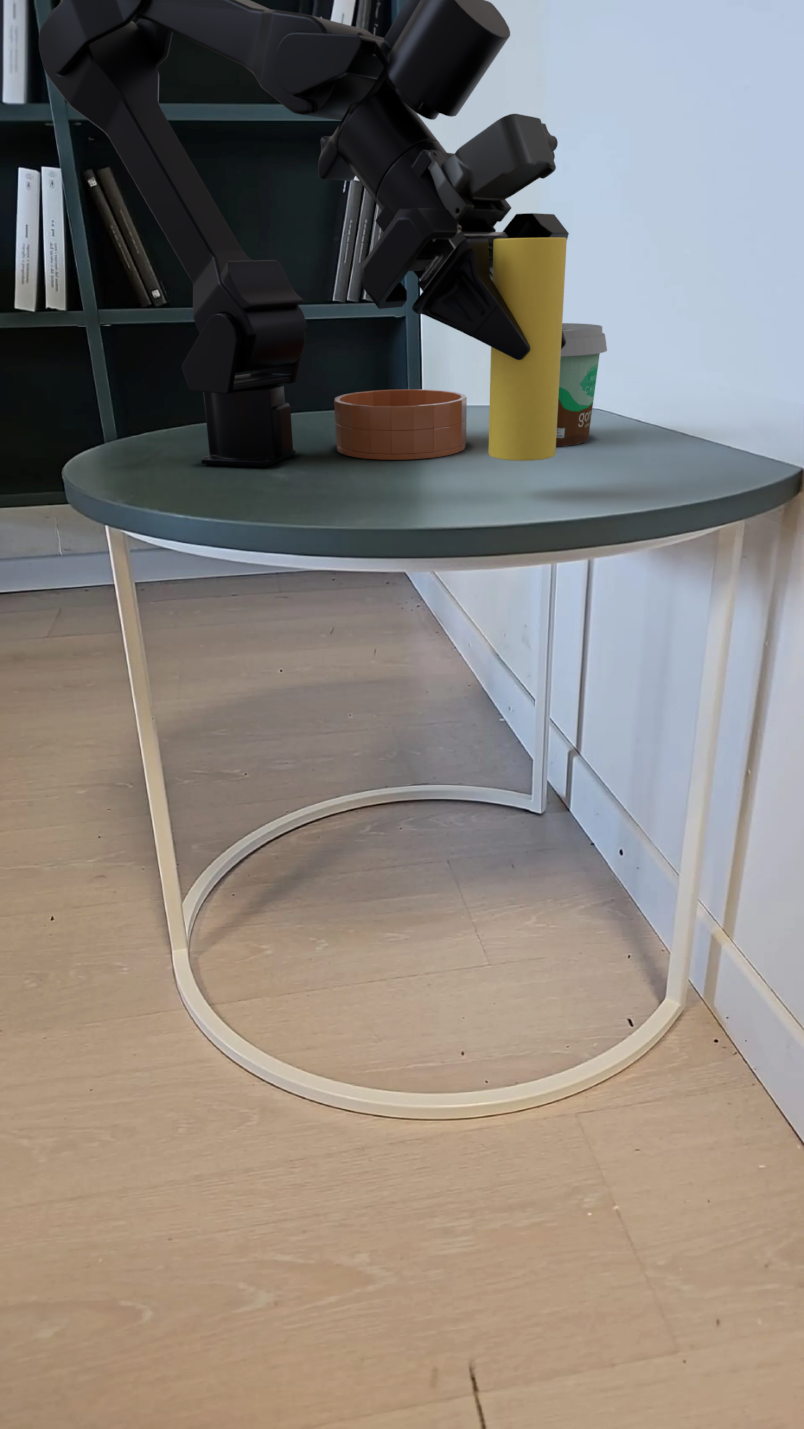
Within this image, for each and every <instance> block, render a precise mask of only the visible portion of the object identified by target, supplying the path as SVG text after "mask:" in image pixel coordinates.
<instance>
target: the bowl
mask: <svg viewBox="0 0 804 1429" xmlns="http://www.w3.org/2000/svg"><path fill="white" fill-rule="evenodd" d="M467 398H468V397H467V396H466V394H464V393H460V392H456V391H449V390H441V389H423V388H422V389H420V388H419V389H418V388H402V389H397V388H396V389H377V390H375V389H374V390H365V391H356V392H350V393H345V394H342V395H339V396H336V397H334V400H333V404H334V423H335V424H334V425H335V427H334V428H335V446H336V451H337V452H338V453H340V454H341V455H343V456H347V457H353V458H357V459H365V460H380V461H381V460H382V461H406V460H407V461H409V460H410V461H411V460H422V459H423V460H424V459H425V460H426V459H433V458H442V457H446V456H447V457H448V456H452V455H455V454H458V453H460V452H462V451H464V450H465V449H466V447H467V446H466V443H467V415H468V414H467V405H468V404H467V403H468V402H467Z"/></svg>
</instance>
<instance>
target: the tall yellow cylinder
mask: <svg viewBox="0 0 804 1429" xmlns="http://www.w3.org/2000/svg"><path fill="white" fill-rule="evenodd" d="M567 243H568V238H561V237H555V238H503V239H494V240H493V283H494V284H495V286H496V288H497V289H498V291H499V293H500V294H501V296H502V298H503V299H504V301H505V303H506V304H507V306H508V308H509V309H510V311H511V313H512V314H513V316H514V318H515V319H516V321H517V323H518V324H519V326H520V328H521V330H522V332H523V333H524V335H525V337H526V339H527V341H528V343H529V345H530V348H531V349H530V352H529V353H528V354H527V355H526V356H525V357H524V358H523V359H522V360H516V359H514V358H512V357H510V356H508V355H506V354H504V353H503V352H501V351H499V350H497V349H495V348H493V347H491V346H490V368H489V369H490V371H489V372H490V373H489V378H490V379H489V413H488V414H489V416H488V456H490V457H491V458H494V459H498V460H504V461H513V462H514V461H515V462H527V461H528V462H529V461H530V462H532V461H543V460H548V459H550V458H554V457H555V456H556V454H557V452H556V451H557V446H556V434H557V415H558V396H559V377H560V358H561V339H562V323H563V321H564V320H563V318H564V302H565V301H564V298H565V295H564V294H565V280H566V278H565V277H566V262H567V260H566V259H567Z"/></svg>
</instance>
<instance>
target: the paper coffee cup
mask: <svg viewBox="0 0 804 1429" xmlns="http://www.w3.org/2000/svg"><path fill="white" fill-rule="evenodd" d="M562 331H563V334H564V337H565V339H566V345H565V346H564V347H563V348H562V349H561V358H560V377H559V396H558V415H557V434H556V447H567V446H575V445H579V444H583V443H586V442H588V441H589V437H590V430H591V422H592V415H593V408H594V407H593V406H594V399H595V393H596V392H595V391H596V385H597V378H598V369H599V363H600V362H599V361H600V354H602V353H603V354H604V353H606V352H607V351H608V346H607V339H606V333H604V332H603V326H602V325H600V324H593V323H578V322H576V323H573V322H569V323H568V322H562Z"/></svg>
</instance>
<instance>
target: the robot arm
mask: <svg viewBox="0 0 804 1429" xmlns="http://www.w3.org/2000/svg"><path fill="white" fill-rule="evenodd" d="M135 18H136V19H138V20H137V21H136V22H134V21H133V20H134V19H135ZM173 33H175V34H177V35H179V36H181V37H183V38H185V39H187V40H189V41H191V42H193V43H195V44H198V45H199V46H200V47H201V46H202V47H203V48H206V49H208V50H209V51H212V52H214V53H216V54H218V55H220V56H223V57H224V58H226V59H228V60H230V61H232V62H234V63H236V64H238V65H240V66H243V67H244V68H245V69H246V70H248V71H249V72H250V73H252V74H253V75H254V77H255V79H256V81H257V83H258V84H259V86H260V88H261V89H262V90H264V91H265V92H266V93H267V94H269V95H270V96H271V97H272V98H273V99H275V100H276V101H277V102H278V103H280V104H281V105H282V106H283V107H285V108H286V109H287V110H288V111H290V112H292V113H294V114H295V115H296V114H297V115H302V116H309V117H315V118H321V119H322V118H323V119H329V120H337V121H340V122H339V124H338V126H337V127H336V129H335V131H334V132H333V134H332V135H331V136H322V137H321V138H320V146H321V147H320V148H321V149H320V155H319V158H318V164H317V165H318V166H317V167H318V168H317V176H318V178H320V179H321V180H332V181H333V180H334V181H345V182H346V181H347V182H352V181H353V180H354V179H355V178H357V179H358V181H359V182H360V184H361V185H362V186H363V187H364V189H365V190H366V191H367V193H368V195H369V196H370V197H371V198H372V199H373V202H375V203H376V205H377V207H378V208H379V209H380V210H381V211H380V212H379V214H378V216H377V217H376V219H375V220H374V221H375V223H376V224H377V225H378V227H379V228H380V229H381V231H382V234H381V236H380V237H379V239H378V240H377V242H376V243H375V245H374V246H373V248H372V249H371V251H370V252H369V254H368V255H367V256H366V258H365V259H364V260H363V262H362V264H361V286H362V289H363V290H364V291H365V293H366V294H367V296H368V297H369V298H370V299H371V301H372V302H373V303H374V304H375V306H376V307H377V309H379V310H383V309H384V310H385V309H393V308H394V309H395V308H396V309H397V308H403V306H404V305H405V304H406V302H407V301H408V290H407V289H406V288H405V286H404V285H403V283H401V282H402V281H403V280H404V279H405V278H406V276H407V274H408V273H409V272H413V273H414V274H415V275H416V277H417V278H418V279H419V280H418V282H417V286H418V288H419V289H420V290H421V291H422V292H421V293H420V295H419V296H418V298H417V299H416V300H415V301H414V303H413V304H412V307H411V310H412V311H413V312H414V313H415V314H416V315H424V316H426V317H427V318H430V319H432V320H435V321H437V322H440V323H441V324H443V325H445V326H447V327H450V328H452V329H454V330H455V331H456V330H457V331H458V332H461V333H463V334H464V335H466V336H469V337H470V338H473V339H475V340H477V341H478V342H481V343H483V344H485V345H487V346H488V347H490V348H491V347H493V348H495V349H497V350H499V351H501V352H503V353H504V354H506V355H508V356H510V357H512V358H514V359H516V360H522V359H523V358H524V357H525V356H526V355H527V354H528V353H529V352H530V349H531V348H530V345H529V343H528V341H527V339H526V337H525V335H524V333H523V332H522V330H521V328H520V326H519V324H518V323H517V321H516V319H515V318H514V316H513V314H512V313H511V311H510V309H509V308H508V306H507V304H506V303H505V301H504V299H503V298H502V296H501V294H500V293H499V291H498V289H497V288H496V286H495V284H494V283H493V240H494V239H503V238H555V237H561V238H567V239H569V235H570V233H569V231H568V230H567V229H566V227H565V226H564V225H563V223H562V222H561V221H560V220H559V218H557V216H556V214H554V213H536V212H529V213H527V212H526V213H516V214H515V215H514V216H513V217H512V218H511V219H510V221H509V222H508V224H507V225H506V226H505V228H504V229H503V230H502V231H497V230H496V228H495V226H496V225H497V223H501V222H502V221H503V220H504V219H505V217H506V216H507V215H508V213H510V211H511V209H512V206H511V205H510V203H509V202H508V201H507V200H506V199H508V198H511V197H512V196H514V195H516V194H517V193H519V192H520V191H521V190H524V188H526V187H528V186H530V185H531V184H532V183H534V182H535V181H537V180H539V179H546V178H547V177H549V176H550V175H552V174H553V173H554V172H555V171H556V170H557V166H556V162H555V152H554V151H556V150H557V148H558V144H559V143H558V138H557V137H556V136H555V135H552V134H551V133H550V132H549V130H548V127H547V124H546V123H543V122H542V119H541V118H539V117H535V116H529V115H525V114H520V113H510V114H507V115H505V116H502V117H500V118H498V119H497V120H496V121H494V122H493V123H491V124H490V125H489V126H487V127H485V129H483V130H482V131H480V132H479V133H477V134H476V135H475V136H474V137H472V138H471V139H469V140H468V141H466V142H465V143H463V144H462V145H460V147H459V148H457V150H456V151H455V152H453V153H452V152H447V151H446V149H445V147H444V146H443V145H442V144H441V143H440V142H439V140H438V139H437V137H436V136H435V135H434V134H433V132H432V130H430V128H429V127H428V126H427V124H426V123H425V122H424V121H423V119H422V118H421V117H423V118H425V119H427V120H430V121H434V120H436V119H437V118H438V116H439V115H440V114H441V115H443V116H446V117H456V116H458V114H459V113H460V111H461V110H462V108H463V107H464V106H465V104H466V102H467V101H468V100H469V98H470V97H471V95H472V93H473V92H474V90H475V89H476V88H477V86H478V84H480V81H481V80H482V78H483V77H484V76H485V74H486V72H487V71H488V69H489V68H490V67H491V65H492V63H493V62H494V61H495V59H496V57H497V56H498V55H499V53H500V51H501V50H502V49H503V48H504V46H505V44H506V43H507V42H508V40H509V38H510V37H511V30H510V27H509V25H508V23H507V21H506V20H505V18H504V16H503V15H502V14H501V13H500V11H499V10H498V9H497V7H496V6H495V5H494V4H493V3H492V2H491V1H489V0H405V1H404V3H403V5H402V7H401V8H400V10H399V11H398V14H397V16H396V17H395V19H394V21H393V22H392V24H391V26H390V27H389V29H388V31H387V33H386V35H385V36H384V37H381V36H378V35H374V34H372V33H371V32H370V31H369V30H367V29H365V28H361V27H357V26H353V25H349V24H345V23H341V22H337V21H335V20H330V19H326V18H322V17H319V16H314V15H310V14H307V13H301V12H300V13H299V12H293V11H288V10H287V11H286V10H280V9H279V10H278V9H270V8H268V7H266V6H264V5H262V4H259V3H257V2H256V1H252V0H61V1H60V2H59V3H58V4H57V6H56V7H54V8H52V9H51V10H50V12H49V14H48V15H47V17H46V20H45V21H44V22H43V23H42V26H41V27H40V29H39V33H38V34H39V35H38V52H39V56H40V60H41V63H42V68H43V69H44V71H45V73H46V75H47V78H48V80H50V82H51V83H52V84H53V86H54V87H55V88H56V90H57V92H59V93H60V95H61V96H62V97H63V99H64V100H65V101H66V102H67V104H68V105H69V106H70V107H71V109H73V111H75V112H77V113H78V114H80V115H81V116H82V117H84V119H86V120H87V121H89V122H90V123H92V124H93V125H94V126H96V127H97V128H98V129H99V130H101V131H102V132H103V133H104V134H105V135H106V136H107V137H108V139H109V141H110V143H111V144H112V146H113V147H114V149H115V151H116V153H117V154H118V156H119V158H120V159H121V161H122V163H123V165H124V167H125V168H126V170H127V172H128V174H129V175H130V177H131V179H132V180H133V182H134V184H135V186H136V187H137V189H138V192H140V194H141V196H142V197H143V199H144V201H145V203H146V205H147V206H148V208H149V210H150V212H151V213H152V215H153V216H154V219H155V220H156V222H157V224H158V225H159V227H160V229H161V231H162V233H163V235H164V236H165V237H166V239H167V241H168V243H169V244H170V246H171V248H172V250H173V252H174V253H175V255H176V257H177V259H178V260H179V262H180V263H181V265H182V267H183V269H184V270H185V272H186V274H187V276H188V277H189V279H190V281H191V283H192V319H193V320H194V323H195V325H196V328H197V330H198V333H199V334H198V336H197V338H196V340H195V341H194V343H193V345H192V347H191V348H190V350H189V352H188V353H187V355H186V357H185V359H184V361H183V362H182V364H181V370H182V373H183V376H184V380H185V382H186V384H187V388H188V390H189V391H190V392H201V393H202V394H203V404H204V412H205V413H204V415H205V424H206V432H207V433H206V434H207V442H208V443H207V444H208V451H209V452H208V453H209V454H208V455H205V456H202V457H201V458H200V462H201V464H203V465H220V466H221V465H222V466H224V465H225V466H246V467H270V466H273V465H275V464H276V463H280V462H281V461H283V460H285V459H287V458H290V457H292V456H294V455H296V454H297V451H296V448H295V447H294V442H293V428H292V412H291V411H292V410H291V405H290V404H289V403H288V402H286V400H285V385H284V384H289V385H291V384H295V383H296V382H297V377H298V371H299V368H300V367H299V366H300V361H301V358H302V353H303V351H304V347H305V345H306V332H307V331H308V323H307V320H306V317H305V315H304V312H303V310H302V309H301V307H300V306H299V305H303V304H304V299H303V298H302V297H300V295H299V294H297V293H296V291H295V290H294V289H293V287H292V286H291V284H290V282H289V281H290V280H289V279H288V276H287V274H286V271H285V269H284V268H283V266H282V265H281V264H280V263H279V261H278V260H277V259H264V260H263V259H262V260H260V259H259V260H253V259H251V258H250V257H248V255H247V254H246V253H245V252H244V250H243V249H242V247H241V245H240V244H239V242H238V240H237V238H236V237H235V234H233V232H232V230H231V228H230V226H229V224H228V222H227V221H226V220H225V218H224V215H223V214H222V213H221V211H220V209H219V207H218V205H217V204H216V202H215V200H214V199H213V197H212V195H211V193H210V191H209V190H208V188H207V186H206V185H205V183H204V181H203V179H202V178H201V176H200V174H199V173H198V171H197V169H196V167H195V166H194V163H193V162H192V160H191V159H190V157H189V155H188V153H187V151H186V150H185V148H184V147H183V145H182V142H181V141H180V139H179V138H178V136H177V134H176V133H175V131H174V129H173V127H172V125H171V124H170V122H169V121H168V119H167V117H166V115H165V114H164V112H163V110H162V108H161V106H160V102H159V100H160V73H159V70H158V68H159V66H160V65H161V64H162V63H163V62H164V61H166V59H167V58H168V56H169V53H170V48H171V43H172V38H173ZM565 345H566V339H565V337H564V334H563V331H562V339H561V349H562V348H563V347H564V346H565ZM245 372H250V373H245ZM240 373H243V374H240ZM236 374H237V375H236Z"/></svg>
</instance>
